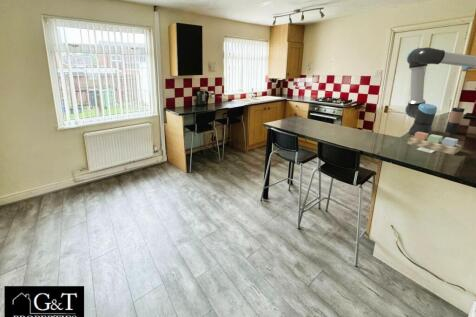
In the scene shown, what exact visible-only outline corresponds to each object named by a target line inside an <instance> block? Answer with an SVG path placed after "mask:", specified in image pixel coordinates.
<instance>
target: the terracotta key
mask: <svg viewBox="0 0 476 317" xmlns="http://www.w3.org/2000/svg"><path fill="white" fill-rule="evenodd" d="M428 134H429V133H424V132H416V133H415V135H413V136H414V139H418V140H423V141H425V140H427V138H428Z"/></svg>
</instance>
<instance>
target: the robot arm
mask: <svg viewBox="0 0 476 317" xmlns="http://www.w3.org/2000/svg"><path fill="white" fill-rule="evenodd" d="M406 61H407V62H406V63H408V64H409V65H408V68H409V69H410V70H411V71H410V72H411V73H410V95H409V96H410V100H409V101H408V102H407V105H406V107H405V108H404V112H405V114H406V115H407V116H408V117H409V118H412V119H414V122H413V124H412V126H411V127H410V128H409V130H408V132H407V133H408V134H410V135H413V136H415V133H416V132H424V133H429V134H428V137H429V135H431V134H433V130H432V129H433V128H432V126H433V123H434V119H435V117H436V113H437V111H438V107H437V106H436V105H434V104H430V103H426V100H425V99H424V91H425V90H424V88H425V74H426V73H425V70H426V67H427V66H428V65H439V64H443V65H451V66H458V67H461V69H462V70H463V71H470V70H473V69H475V70H476V55H470V54H464V53H456V52H454V53H453V52H448V51H447V52H446V51H445V50H444V49H439V48H434V47H428V46H427V47H418V48H414V49H412V50H411V51H409V53H408V54H407V57H406ZM474 90H476V87H475V89H474ZM428 137H427V138H428Z"/></svg>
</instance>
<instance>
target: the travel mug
mask: <svg viewBox="0 0 476 317" xmlns="http://www.w3.org/2000/svg"><path fill="white" fill-rule="evenodd" d="M451 109H452V110H451V113H450V115H449V118H448V121H447V123H446V127H445V131H444V132H445V133H446V134H448V133H449V134H457V131H458V129H459V126H460V124H461V121H462V119H463V116H464V112H465V110H466V109H465V108H462V107H453V108H451Z"/></svg>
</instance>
